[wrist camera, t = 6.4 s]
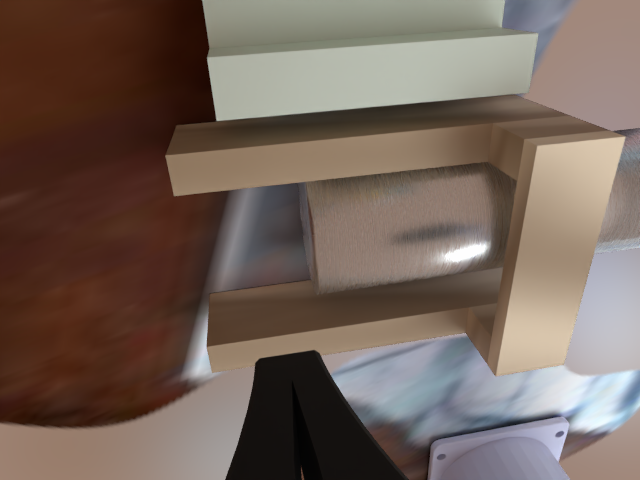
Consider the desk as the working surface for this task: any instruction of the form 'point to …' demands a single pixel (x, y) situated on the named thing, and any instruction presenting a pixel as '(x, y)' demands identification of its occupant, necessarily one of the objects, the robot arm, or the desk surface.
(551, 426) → the robot arm
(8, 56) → the desk surface
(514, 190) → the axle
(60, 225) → the desk surface
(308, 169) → the wooden bracket frame
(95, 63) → the desk surface
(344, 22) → the cradle
